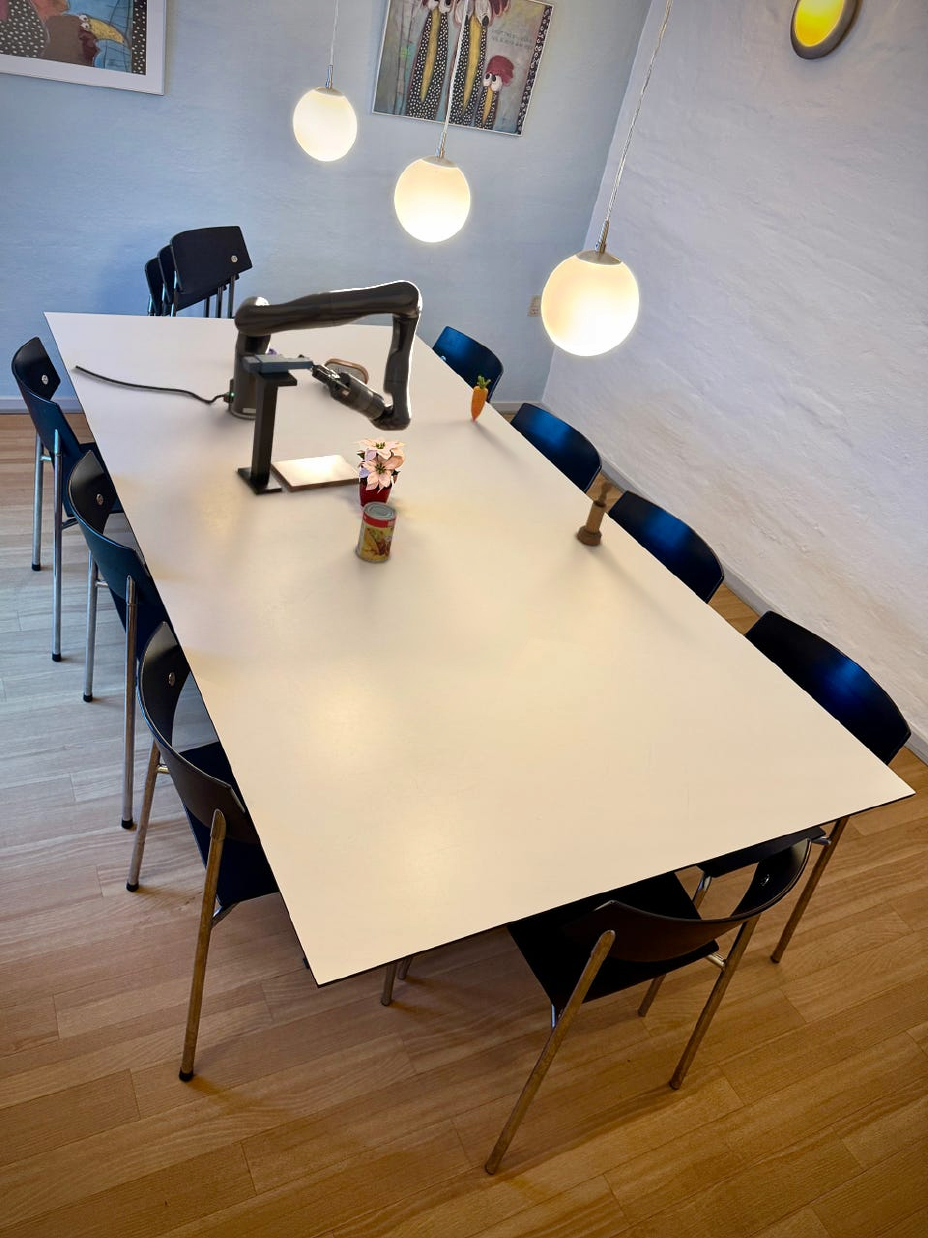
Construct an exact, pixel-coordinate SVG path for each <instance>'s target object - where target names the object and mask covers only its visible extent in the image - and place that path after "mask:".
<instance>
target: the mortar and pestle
mask: <svg viewBox="0 0 928 1238" xmlns="http://www.w3.org/2000/svg"><path fill="white" fill-rule="evenodd" d="M612 489H613V483H612V482H611V481H610V480H608V479H607V480H603V481H602V482H601V484H600V490H601V493H600V494H598V495H597V500H593V501H592V503H591V507H590V510H589V513H588V515H587V519H586V522H585V525H582V526H580V527H579V529H578V531H577V533H576V538H577V539H578V541H580V543H583V544H585V545H588V546H597V545H599V544H600V542H601V539H602V537H603V533H602V531H601V530H600V528H601V525H602V522H603V519H604V516H605V514H606V511H607V508H608V504H607V503H605V502H606V500H607V498H608V497H607V496H608V495H607V494H609V492H610V491H611V490H612Z"/></svg>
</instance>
